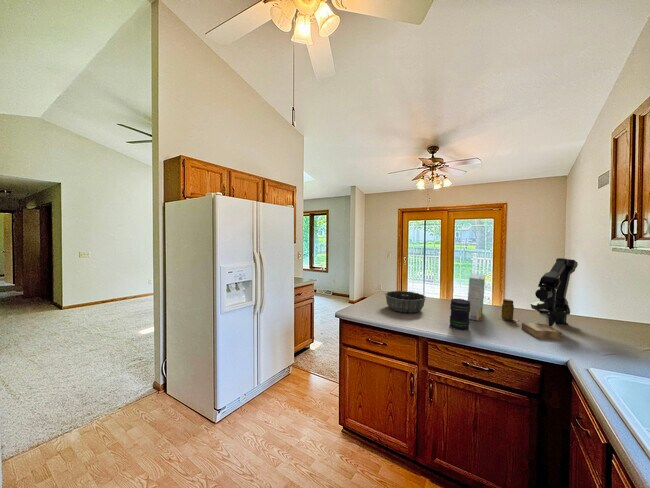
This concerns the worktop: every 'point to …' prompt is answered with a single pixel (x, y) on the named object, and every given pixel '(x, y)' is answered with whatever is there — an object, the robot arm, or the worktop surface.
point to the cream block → (545, 320)
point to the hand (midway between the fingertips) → (547, 324)
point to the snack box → (476, 296)
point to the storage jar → (460, 314)
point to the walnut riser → (541, 331)
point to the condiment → (507, 310)
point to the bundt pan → (405, 301)
